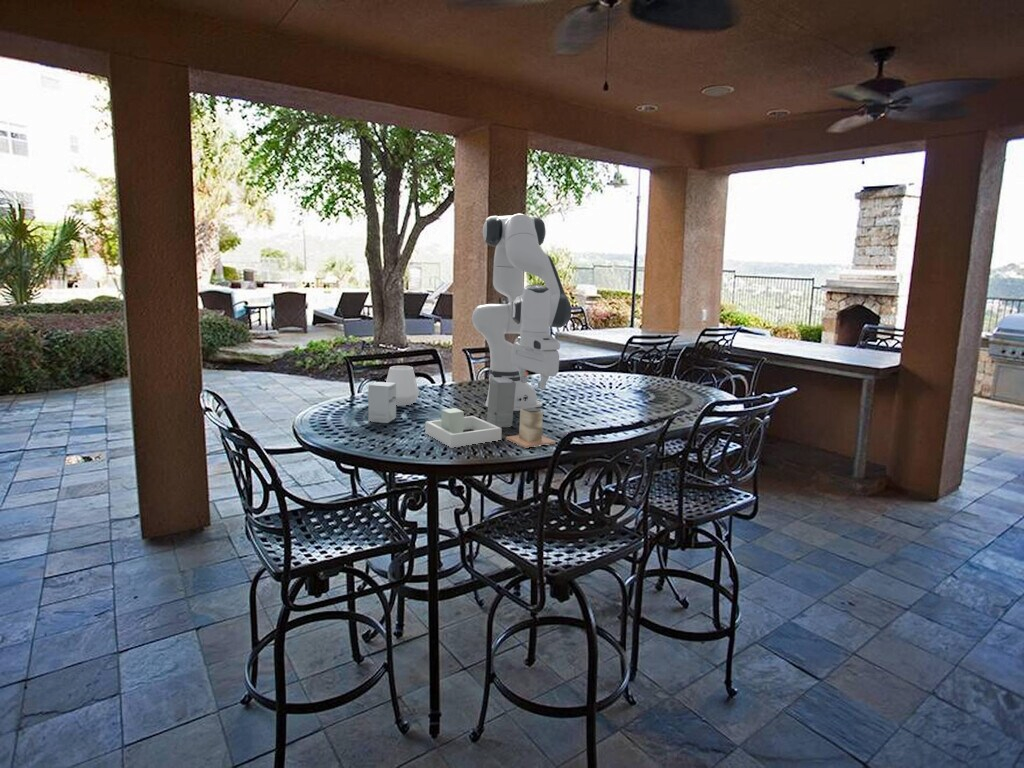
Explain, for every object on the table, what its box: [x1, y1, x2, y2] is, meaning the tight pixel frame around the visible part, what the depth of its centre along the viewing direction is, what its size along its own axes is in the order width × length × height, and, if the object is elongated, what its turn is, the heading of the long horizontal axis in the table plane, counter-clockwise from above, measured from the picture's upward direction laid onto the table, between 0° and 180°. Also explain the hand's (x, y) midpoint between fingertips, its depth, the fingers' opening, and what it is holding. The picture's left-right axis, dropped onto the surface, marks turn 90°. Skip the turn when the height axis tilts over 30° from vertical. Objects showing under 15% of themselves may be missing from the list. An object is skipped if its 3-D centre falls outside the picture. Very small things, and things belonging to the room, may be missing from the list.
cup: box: [385, 365, 420, 407], centre depth 237 cm, size 13×13×14 cm
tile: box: [505, 434, 556, 449], centre depth 192 cm, size 11×11×1 cm
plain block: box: [440, 407, 465, 434], centre depth 192 cm, size 5×5×9 cm
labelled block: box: [518, 407, 544, 442], centre depth 191 cm, size 5×5×9 cm
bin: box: [424, 415, 503, 449], centre depth 194 cm, size 17×17×4 cm
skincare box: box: [486, 377, 516, 428], centre depth 210 cm, size 8×7×16 cm
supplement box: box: [367, 381, 397, 424], centre depth 211 cm, size 7×7×13 cm
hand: (532, 385), depth 189 cm, fingers open, 8 cm apart
